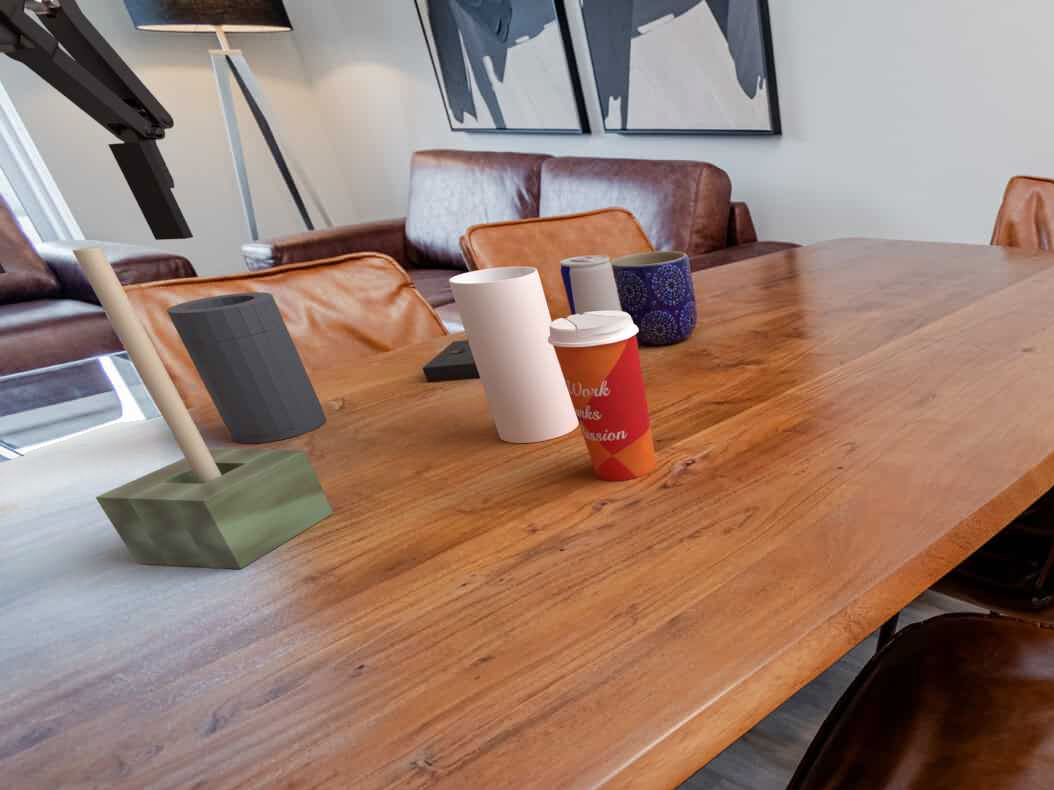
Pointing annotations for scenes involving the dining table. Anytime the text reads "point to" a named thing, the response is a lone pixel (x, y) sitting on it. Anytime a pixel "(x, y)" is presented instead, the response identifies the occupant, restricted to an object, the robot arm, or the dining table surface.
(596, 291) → the beverage can
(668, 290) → the planter
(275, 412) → the dark gray cylindrical container
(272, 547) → the holder
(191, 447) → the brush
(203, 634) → the dining table surface
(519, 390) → the cup
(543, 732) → the dining table surface
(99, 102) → the robot arm
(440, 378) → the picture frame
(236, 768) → the dining table surface
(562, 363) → the paper cup
